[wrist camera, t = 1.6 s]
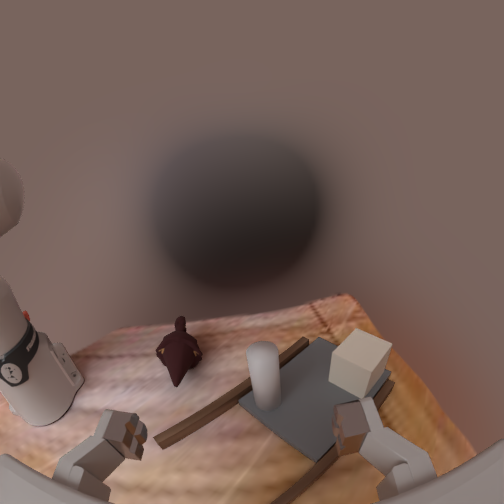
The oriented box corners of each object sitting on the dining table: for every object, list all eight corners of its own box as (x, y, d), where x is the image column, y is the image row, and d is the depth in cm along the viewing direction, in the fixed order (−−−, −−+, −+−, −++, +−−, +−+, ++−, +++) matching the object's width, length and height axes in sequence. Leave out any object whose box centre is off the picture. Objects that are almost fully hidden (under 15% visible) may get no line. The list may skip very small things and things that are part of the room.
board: (239, 404, 33) (225, 351, 29) (318, 340, 44) (321, 286, 39) (316, 463, 24) (326, 422, 19) (389, 375, 34) (407, 320, 29)
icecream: (203, 369, 33) (203, 312, 47) (147, 365, 31) (161, 309, 45) (202, 402, 35) (201, 343, 49) (152, 398, 33) (162, 340, 47)
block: (328, 380, 34) (332, 352, 32) (351, 356, 38) (356, 327, 35) (362, 399, 30) (371, 372, 28) (383, 372, 33) (392, 343, 31)
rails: (158, 443, 27) (153, 437, 27) (303, 345, 43) (303, 336, 43) (242, 537, 15) (240, 536, 14) (391, 390, 31) (394, 382, 30)
